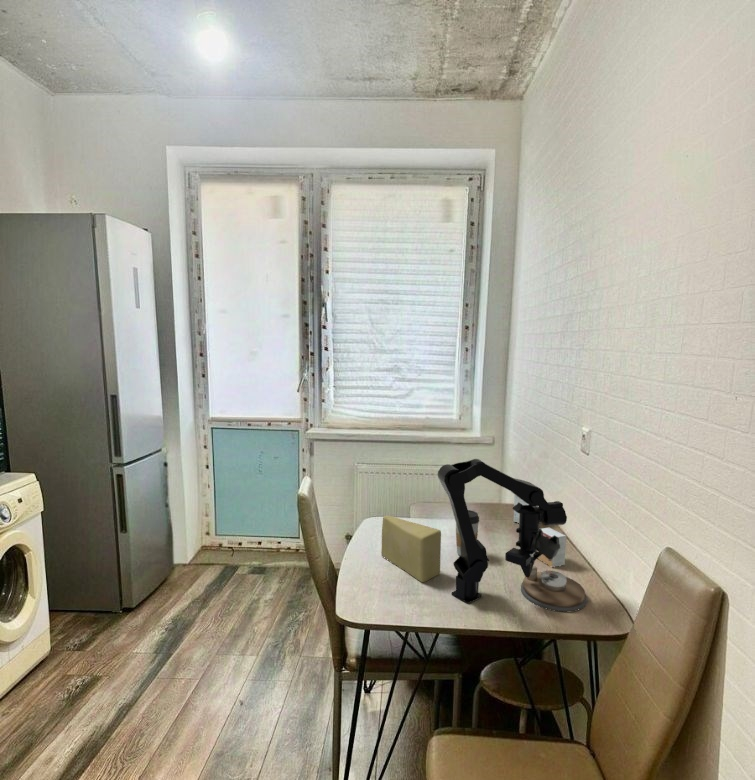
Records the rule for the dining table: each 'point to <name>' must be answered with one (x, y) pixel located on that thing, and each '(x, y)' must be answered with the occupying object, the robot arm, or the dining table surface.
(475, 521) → the coffee cup
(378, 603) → the dining table surface
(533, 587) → the lazy susan
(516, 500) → the supplement box
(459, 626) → the dining table surface
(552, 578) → the cast cover
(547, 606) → the turntable base
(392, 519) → the cheese
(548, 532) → the small box
